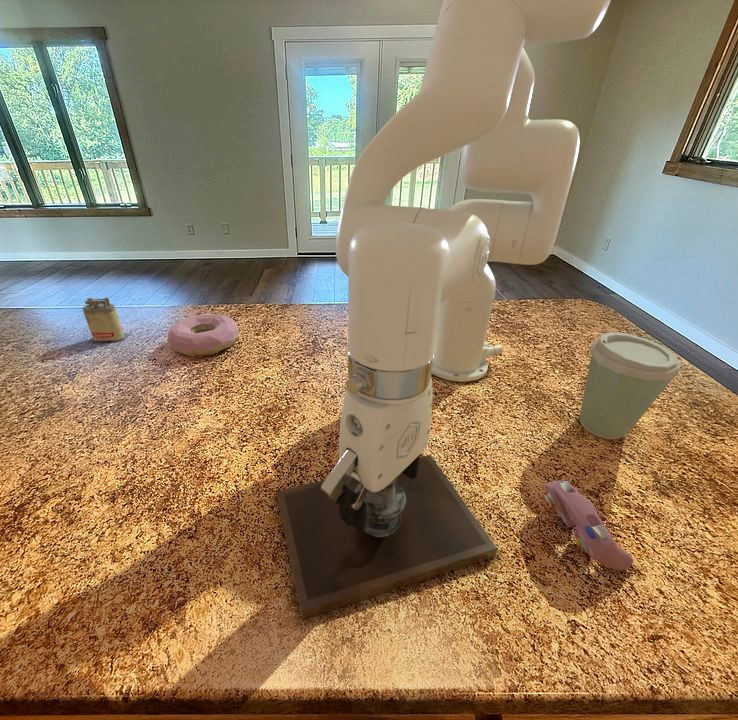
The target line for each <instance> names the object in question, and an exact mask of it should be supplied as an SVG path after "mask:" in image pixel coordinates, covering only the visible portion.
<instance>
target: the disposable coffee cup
mask: <svg viewBox="0 0 738 720" xmlns="http://www.w3.org/2000/svg"><path fill="white" fill-rule="evenodd" d="M589 354H590V361H589V366H588V370H587V371H588V372H587V377H586V382H585V386H584V391H583V396H582V402H581V406H580V407H581V408H580V412H579V417H578V419H579V423H580V424H581V426H582V427H583V429H584V430H586V431H587V432H588V433H590V434H592V435H593V436H595V437H598V438H602V439H605V440H619V439H621V438H623V437H624V436H625V435H628V434H629V433H630V432H631V430H632V429H633V428H634V427H635V426H636V425H637V423H638V422H639V421H640V420H641V418H642V417H643V416H644V415H645V414H646V412H647V411H649V409H650V407H651V406H652V405H653V404H654V402H655V401H656V400H657V399H658V398H659V396H660V395H661V394H662V393H663V392H664V390H665V389H666V388H667V387H668V386H669V384H670V383H671V382H672V380H673V379H674V378H675V377H678V376H680V374H679V373H680V371H681V365H680V359H679V358H678V357H677V355H676V354H675V353H673V352H672V351H671V350H670V349H668V348H667V347H665V346H664V345H662V344H660V343H658V342H655V341H652V340H650V339H648V338H646V337H642V336H637V335H634V334H631V333H630V334H629V333H623V332H614V331H609V332H607V333H602V334H599V337H598V339H596V340H594V341H593V342H592V344H591V345H590V347H589Z"/></svg>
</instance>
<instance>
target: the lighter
mask: <svg viewBox="0 0 738 720" xmlns="http://www.w3.org/2000/svg"><path fill="white" fill-rule="evenodd" d="M84 304H85V306H84V305H83V307H82V311H83V316H84V318H85V320H86V324H87V327H88V329H89V331H90V334H91V336H92V340H93V341H94V342H117V341H120V340H123V339H125V337H126V335H125V333H124V330H123V326H122V324H121V321H120V318H119V314H118V311H117V309H116V307H115V305H114V304H112V303H110V298H109V297H104V298H93V297H90V298H86V300H85V301H84Z"/></svg>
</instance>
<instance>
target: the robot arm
mask: <svg viewBox="0 0 738 720" xmlns="http://www.w3.org/2000/svg"><path fill="white" fill-rule="evenodd" d="M611 1H612V0H442V3H441V7H440V12H439V15H438V19H437V22H436V25H435V26H436V27H435V31H434V34H433V39H432V42H431V46H430V50H429V55H428V58H427V62H426V65H425V68H424V72H423V76H422V80H421V84H420V87H419V91H418V93H416V94H415V96H414V97H412V98H411V99H410V100H409V101H408V102H407V103H406V104H404V105H403V106H402V107H401V108H400V109H399V110H398V111H397V112H396V113H395V114H394V115H393V116H391V118H390V119H388V121H387V122H386V123H385V124H384V125H383V126H382V127H381V128H380V130H379V131H377V133H376V134H375V135H374V136H373V138H372V139H371V140H370V141H369V142H368V144H367V145H366V146H365V148H364V149H363V150H362V152H361V153H360V155H359V156H358V158H357V161H356V162H355V165H354V167H353V169H352V171H351V174H350V177H349V180H348V184H347V187H346V191H345V195H344V199H343V203H342V206H341V210H340V214H339V219H338V224H337V228H336V235H335V256H336V261H337V264H338V266H339V268H340V270H341V271H342V272H343V274H344V275H346V276H347V277H348V313H347V314H348V315H347V316H348V329H347V330H348V334H347V335H348V337H347V338H348V339H347V340H348V349H347V380H346V381H345V388H346V389H345V392H344V398H343V403H342V410H341V415H340V425H339V435H338V436H339V437H338V439H339V440H338V461H337V463H336V464H335V466H334V467H333V469H332V470H331V472H330V473H329V474H328V475H327V477H326V478H325V479H324V480H325V481H324V482H323V484H322V485H321V491H322V492H324V493H325V494H326V495H327V496H328V497H329V498H330V499H332V500H333V501H334V502H335V503H337V504H338V505H339V508H340V516H341V519H342V520H343V521H344V522H345V523H346V524H347V525H348V526H353V527H354V528H356V529H357V530H358V531H359V532H363V531H364V530H365V527H366V509H367V505H366V503H365V502H364V499H365V497H366V495H367V492H368V490H369V491H371V492H378V491H380V490H382V489H384V488H385V487H386V486H387V485H389V484H390V483H391V482H392V481H393V480H394V479H395V478H396V477H397V476H398V475H399V474H400V473H403V474H405V475H406V476H408V477H409V478H411V479H414V478H416V476H417V474H418V466H419V459H420V457H421V454H422V453H423V452H424V451H425V449H426V447H427V446H428V445H429V440H430V433H431V425H432V414H433V413H432V412H433V409H434V406H433V379H432V375H434V376H435V377H438V378H440V379H443V380H446V381H451V382H456V383H457V382H458V383H464V382H465V383H468V382H473V381H478V380H480V379H482V378H483V377H484V376H486V374H487V372H488V369H489V363H488V362H487V360H486V359H489V358H490V356H498V355H502V354H503V352H504V349H503V346H502V345H500V344H497V345H491V346H490V343H489V342H488V341H486V338H487V333H488V328H489V323H490V318H491V315H492V310H493V304H494V300H495V295H496V292H497V291H496V290H497V283H496V279H495V275H494V274H493V273H494V272H493V271H492V269H491V268H490V266H489V264H488V262H495V263H496V262H497V263H504V264H514V265H524V266H532V265H533V266H534V265H539V264H542V263H544V262H545V261H546V260H547V259H548V258H549V256H550V255H551V253H552V250H553V248H554V245H555V243H556V240H557V237H558V233H559V229H560V226H561V221H562V218H563V214H564V210H565V206H566V204H567V203H566V202H567V199H568V195H569V192H570V188H571V184H572V182H573V181H572V180H573V177H574V173H575V169H576V165H577V160H578V157H579V150H580V131H579V129H578V127H577V126H576V125H575V123H573V122H572V121H570V120H566V119H559V118H558V119H553V118H551V119H530V118H529V111H530V105H531V100H532V96H533V90H534V86H535V80H536V79H535V78H536V75H535V70H534V68H533V64H532V62H531V60H530V57H529V56H528V54H527V52H526V50H525V48H524V46H531V45H541V44H550V43H561V42H568V41H569V42H570V41H577V40H585V39H587V38H588V37H590V36H591V35H592V34H593V33H594V32H595V31H596V30H597V28H598V27H599V25H600V24H601V22H602V21H603V20H604V17H605V15H606V13H607V10H608V8H609V6H610V4H611ZM459 149H460V158H459V178H460V182H461V184H462V185H463V187H465V188H466V189H469V190H472V191H477V192H484V193H485V192H486V193H506V194H507V193H508V194H525V195H526V194H527V195H529V196H530V197H531V199H532V201H520V200H519V201H518V200H505V199H490V198H489V199H488V198H487V199H486V198H484V199H483V198H471V199H470V198H469V199H465V200H461V201H458V202H457V203H455V204H453V205H452V206H451V207H450V208H449V209H445V208H444V209H441V208H426V207H419V206H406V205H405V206H403V205H387V204H385V203H386V200H387V198H388V197H389V195H390V193H391V192H392V190H393V189H394V188H395V187H396V186H397V184H399V182H401V180H403V178H405V177H406V176H407V175H408V174H409V173H411V172H413V171H414V170H416V169H418V168H419V167H421V166H423V165H425V164H427V163H429V162H432V161H434V160H436V159H438V158H441V157H443V156H445V155H448V154H450V153H453V152H454V151H456V150H459ZM352 478H354V479H355V480H357V481H358V482H359V483H361V484H360V486H359V488H358V490H357V492H356V493H355V492H353V491H352V490H351V489H349V488H347V487H348V485H349V483H350V481H351V479H352Z"/></svg>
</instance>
